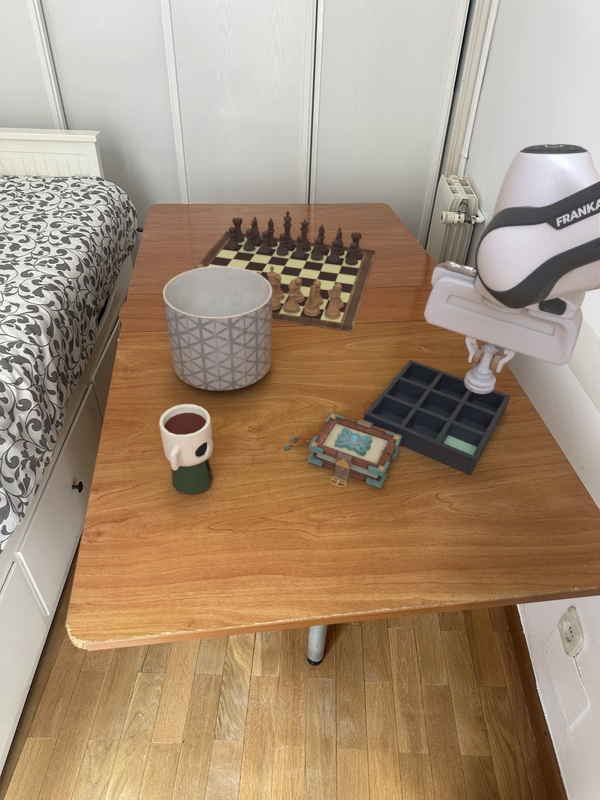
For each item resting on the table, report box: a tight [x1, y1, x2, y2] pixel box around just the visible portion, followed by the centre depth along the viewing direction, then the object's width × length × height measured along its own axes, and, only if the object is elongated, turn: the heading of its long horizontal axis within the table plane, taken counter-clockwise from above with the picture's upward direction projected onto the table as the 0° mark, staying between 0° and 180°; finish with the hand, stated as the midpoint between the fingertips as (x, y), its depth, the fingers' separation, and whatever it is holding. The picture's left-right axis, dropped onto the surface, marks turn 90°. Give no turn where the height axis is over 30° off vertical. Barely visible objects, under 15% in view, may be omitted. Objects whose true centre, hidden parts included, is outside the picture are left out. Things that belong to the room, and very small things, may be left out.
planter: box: [162, 266, 273, 392], centre depth 100 cm, size 19×19×18 cm
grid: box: [363, 359, 511, 476], centre depth 96 cm, size 20×20×4 cm
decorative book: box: [284, 412, 402, 489], centre depth 88 cm, size 13×18×5 cm
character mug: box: [158, 403, 214, 496], centre depth 80 cm, size 11×7×13 cm, turn 168°
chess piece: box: [463, 342, 500, 394], centre depth 77 cm, size 4×4×10 cm
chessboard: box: [162, 210, 377, 333], centre depth 136 cm, size 45×45×10 cm
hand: (484, 365), depth 78 cm, fingers closed on chess piece, 2 cm apart
